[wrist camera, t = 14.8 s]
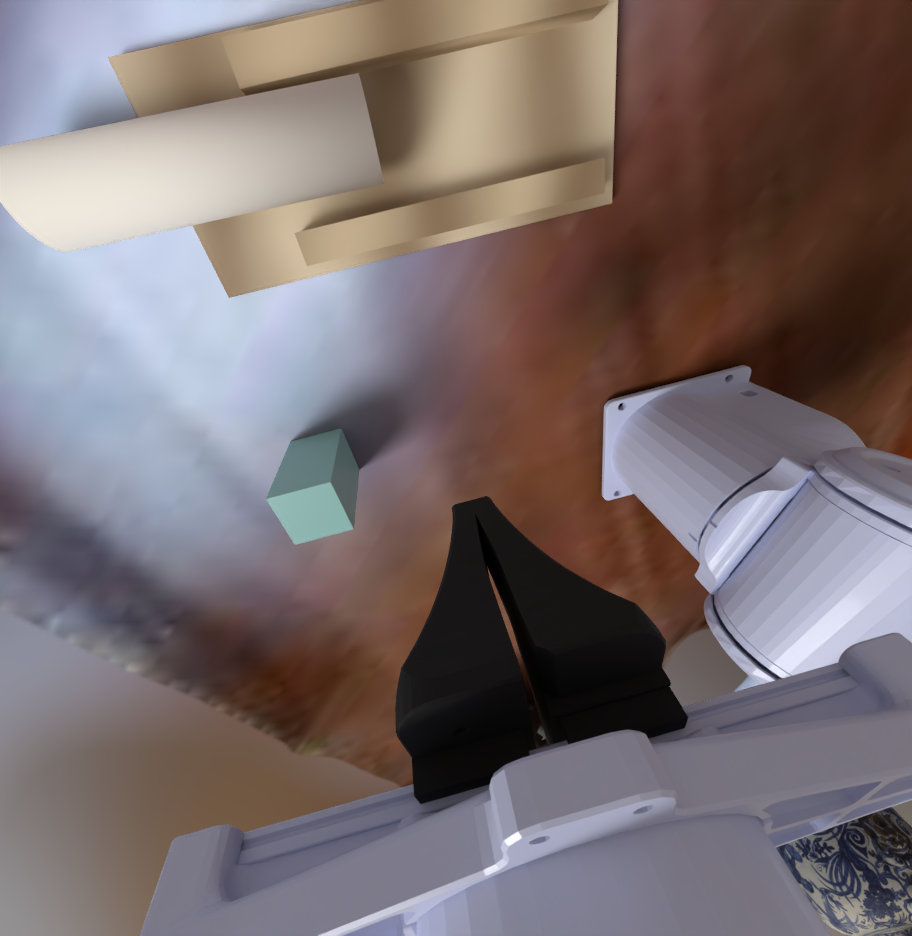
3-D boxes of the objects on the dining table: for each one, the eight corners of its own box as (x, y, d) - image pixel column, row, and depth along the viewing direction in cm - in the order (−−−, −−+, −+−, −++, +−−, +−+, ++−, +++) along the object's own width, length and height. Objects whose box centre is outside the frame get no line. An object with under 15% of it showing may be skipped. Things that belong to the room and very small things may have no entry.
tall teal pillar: (341, 427, 22) (330, 482, 17) (359, 469, 23) (353, 529, 19) (290, 441, 22) (265, 499, 17) (312, 482, 23) (295, 544, 19)
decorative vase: (784, 758, 74) (967, 1003, 50) (698, 775, 71) (848, 1041, 48) (842, 703, 62) (1116, 988, 39) (742, 722, 60) (968, 1036, 37)
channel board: (612, -50, 13) (639, -83, 12) (606, 203, 18) (626, 201, 16) (116, 63, 13) (84, 42, 12) (232, 295, 17) (219, 302, 16)
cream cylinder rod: (365, 109, 15) (353, 47, 12) (386, 197, 15) (379, 159, 13) (53, 174, 14) (-40, 126, 11) (92, 261, 15) (16, 237, 12)
